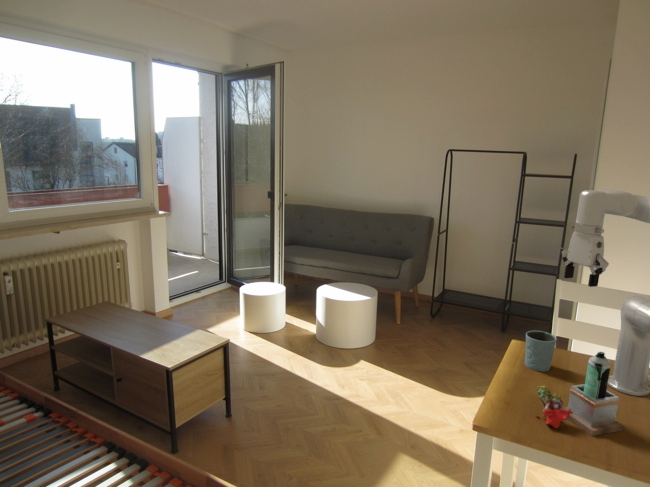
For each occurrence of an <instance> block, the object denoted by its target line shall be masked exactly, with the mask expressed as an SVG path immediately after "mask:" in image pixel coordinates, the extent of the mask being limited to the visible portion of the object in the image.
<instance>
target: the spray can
mask: <svg viewBox="0 0 650 487" xmlns="http://www.w3.org/2000/svg"><path fill="white" fill-rule="evenodd" d="M605 355H606V353H605V352H604V351H598V352H597V353H596V354H595V355H594V356H593V355H592V356H590V357H589V359H588V363H587V368H586V369H587V370H586V374H585V380H584V384H585V386H584V392H585V393H586V394H588V395H589V396H591V397H593V398H594V399H600V398H605V396H606V390H607V389H608V379H609V376H610V372H611V367H612V366H611V364H612V363H611V361H610V360H609V359H608V358H607V357H606V356H605ZM607 391H608V390H607Z"/></svg>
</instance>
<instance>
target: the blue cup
mask: <svg viewBox="0 0 650 487" xmlns="http://www.w3.org/2000/svg"><path fill="white" fill-rule="evenodd" d="M557 340H558V339H557V337H556V336H555V335H554V334H552V333H550V332H546V331H543V330H529V331H527V332H525V350H524V351H525V353H524V355H525V356H524V365H525V367H527V368H528V369H530V370H532V371H537V372H548V371H550V370H551V365H552V360H553V356H554V352H555V347H556V343H557Z"/></svg>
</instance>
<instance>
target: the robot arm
mask: <svg viewBox="0 0 650 487" xmlns="http://www.w3.org/2000/svg"><path fill="white" fill-rule="evenodd" d="M578 198H579V200H578V205H577V213H576V219H575V226H574V231H573V232H572V235H571V238H570V241H569V244H568V248H566V249H564V250H562V251H561V255H562V256H561V257H562V261H563V262H564V263H563V265H564V267H565V268H564V274H563V278H564V279H572V278H574V273H575V264H577V265H579V266H582V267H583V266H584V267H586V268H588V269H589V270H590V272H591V273H590V274H589V276H588V284H587V285H588V286H587V287H590V288H591V287H592V288H593V287H598V285H599V281H600V280H599V279H600V275H602V274H603V273H604V272H605V271H606V269H607V268H608V267H609V264H610V263H609V262H608V260H606V259H605V258H604V256H605V254H604V253H605V239H604V236H603V235H602V234H604V232H605V229H604V228H603V227H604V221H605V215H614V216H617V217H624V218H629V219H634V220H636V221H640V222H643V223H646V224H650V196H648V195H639V194H638V195H637V194H634V193H633V194H632V193H630V192H627V191H622V190H614V189H610V188H609V189H608V188H607V189H602V190H595V189H592V190H591V189H588V190H587V189H586V190H582V191H581V192H580V194H579V197H578ZM649 369H650V298H649V297H645V296H641V295H632V296H630V297H627V298H626V299H625V300H623V302H622V304H621V307H620V332H619V337H618V344H617V349H616V355H615V361H614V366H613V369H612V370H613V371H612V374H611V375H609V379H608V384H607V386H609V387H610V388H612V389H614V390H616V391H618V392H620V393H623V394H627V395H631V396H637V397H645V396H648V395H650V386H649V385H648V383H649V382H650V374H649Z"/></svg>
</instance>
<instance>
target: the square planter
mask: <svg viewBox="0 0 650 487" xmlns="http://www.w3.org/2000/svg"><path fill="white" fill-rule="evenodd" d="M584 386H585V383H582V384H576V385H571V386H570V388H569V390H568V392H569V395H568V396H569V397H568V403H567V407H568V409H567V410H569V409H571V411H572V412H573V415H574V416H576V417H577V418H579V419H580V420H582V421H583V422H585V423H586V424H588V425H589V426H590V427H594V426H600V425H605V424H611V423H615V421H616V418H617V412H618V408H619V407H618V406H619V405H620V403H621V401H620V396H617V395H616V394H614V393H613V392H611V391H609V390H606V396H605V398H600V399H594V398H593V397H591V396H589V395H588V394H586V393H585V392H584Z"/></svg>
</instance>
